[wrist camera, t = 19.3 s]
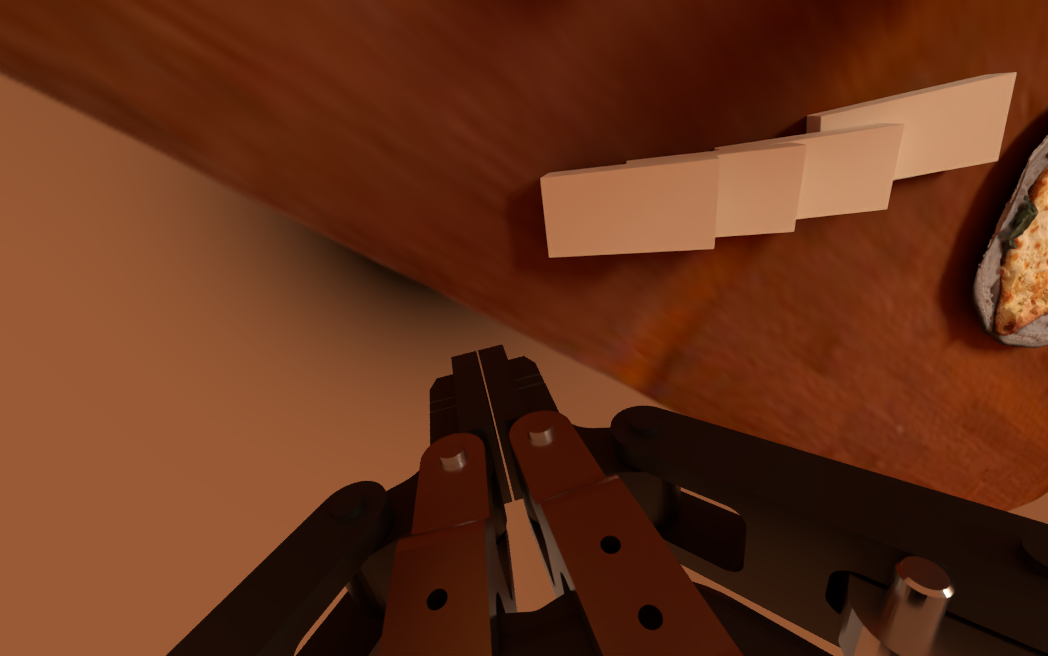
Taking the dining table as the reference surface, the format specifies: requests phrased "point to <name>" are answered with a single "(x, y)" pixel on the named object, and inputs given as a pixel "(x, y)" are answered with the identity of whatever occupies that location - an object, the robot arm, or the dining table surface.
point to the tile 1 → (632, 207)
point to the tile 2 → (755, 188)
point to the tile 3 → (844, 168)
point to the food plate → (1018, 263)
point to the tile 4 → (936, 123)
